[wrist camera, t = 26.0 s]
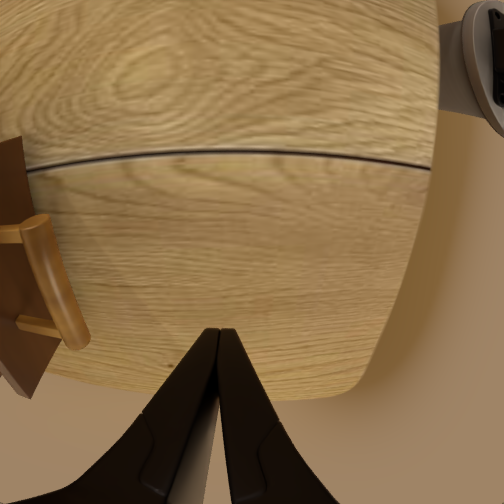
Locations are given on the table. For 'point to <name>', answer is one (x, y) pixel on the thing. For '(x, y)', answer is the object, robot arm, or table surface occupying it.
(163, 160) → the table surface
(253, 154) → the table surface
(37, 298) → the drawer
